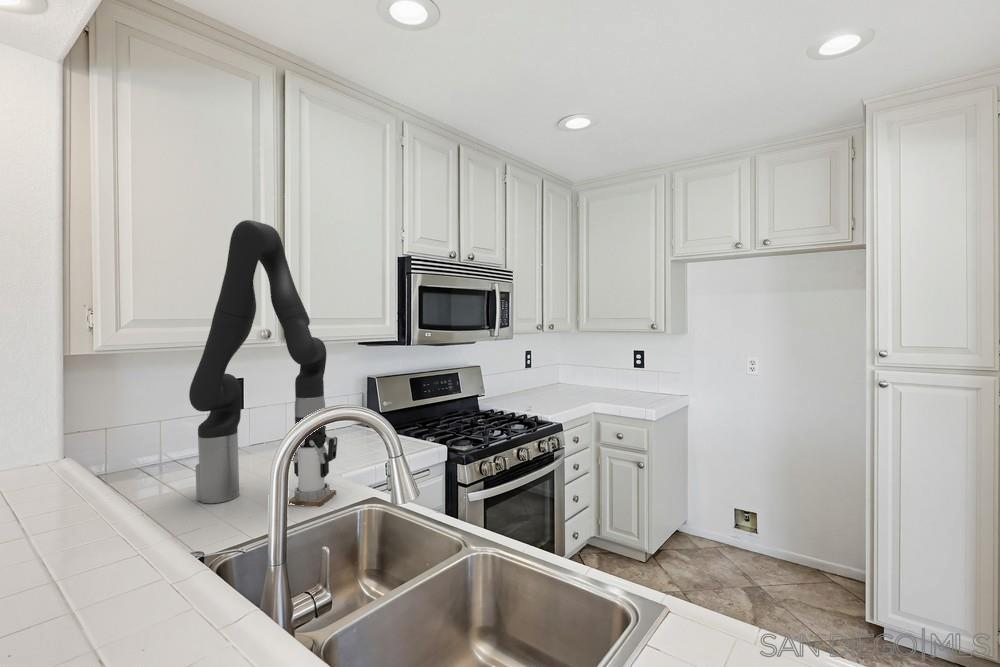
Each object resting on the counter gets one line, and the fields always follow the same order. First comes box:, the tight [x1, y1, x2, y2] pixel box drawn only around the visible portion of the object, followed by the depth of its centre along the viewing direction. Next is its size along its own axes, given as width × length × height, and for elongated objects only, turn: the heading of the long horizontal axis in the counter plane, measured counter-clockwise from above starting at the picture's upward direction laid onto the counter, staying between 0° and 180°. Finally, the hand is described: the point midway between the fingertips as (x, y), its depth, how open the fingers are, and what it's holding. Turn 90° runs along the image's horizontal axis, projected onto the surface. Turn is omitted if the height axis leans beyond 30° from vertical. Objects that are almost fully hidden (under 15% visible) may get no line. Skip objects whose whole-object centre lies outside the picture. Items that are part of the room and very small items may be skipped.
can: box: [297, 447, 326, 493], centre depth 129 cm, size 6×6×12 cm
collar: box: [294, 482, 331, 501], centre depth 129 cm, size 9×9×2 cm
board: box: [288, 489, 337, 508], centre depth 129 cm, size 9×9×1 cm
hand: (311, 475), depth 129 cm, fingers closed on can, 6 cm apart
